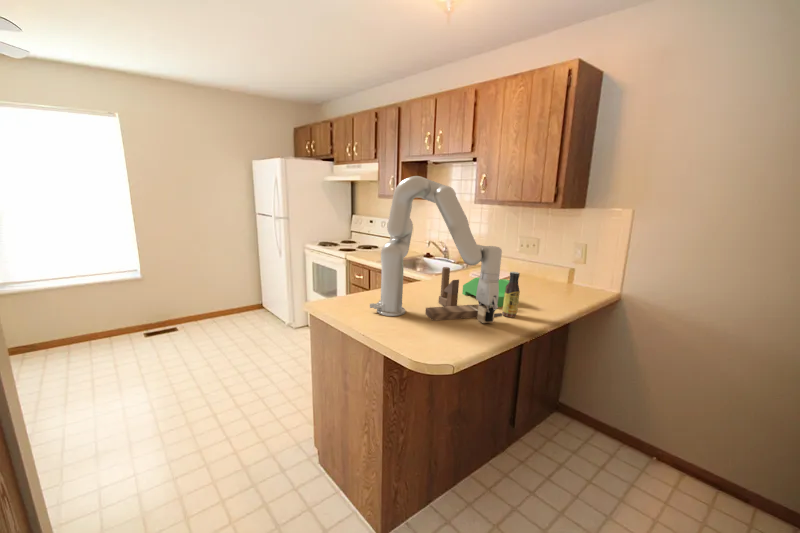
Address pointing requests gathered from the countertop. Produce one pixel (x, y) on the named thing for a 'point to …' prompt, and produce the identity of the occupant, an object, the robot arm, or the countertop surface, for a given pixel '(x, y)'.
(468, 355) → the countertop surface
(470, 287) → the green cradle stand
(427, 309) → the walnut board
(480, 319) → the block
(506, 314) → the sauce bottle
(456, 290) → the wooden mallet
